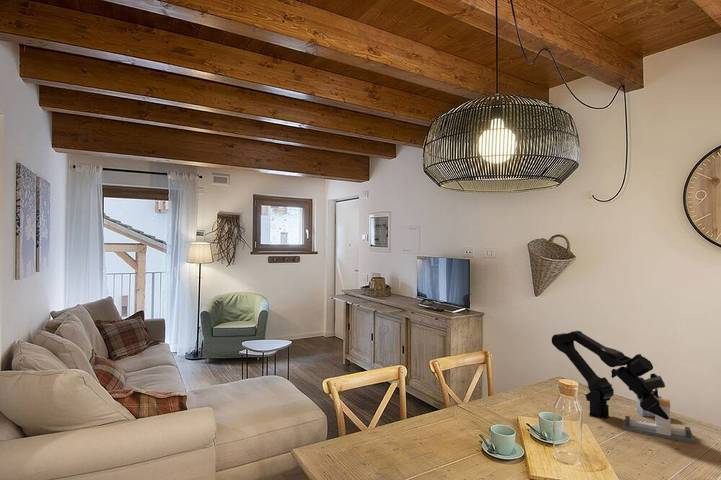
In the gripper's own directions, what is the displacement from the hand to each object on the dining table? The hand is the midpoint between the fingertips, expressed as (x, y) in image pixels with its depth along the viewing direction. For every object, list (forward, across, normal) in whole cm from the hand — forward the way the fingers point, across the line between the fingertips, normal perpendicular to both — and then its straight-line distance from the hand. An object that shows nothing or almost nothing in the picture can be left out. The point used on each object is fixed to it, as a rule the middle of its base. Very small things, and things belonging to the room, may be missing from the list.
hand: (667, 414), depth 158 cm
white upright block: (+4, 0, +6) cm, 7 cm away
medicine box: (+2, +18, +9) cm, 20 cm away
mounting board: (+3, 0, +8) cm, 8 cm away
